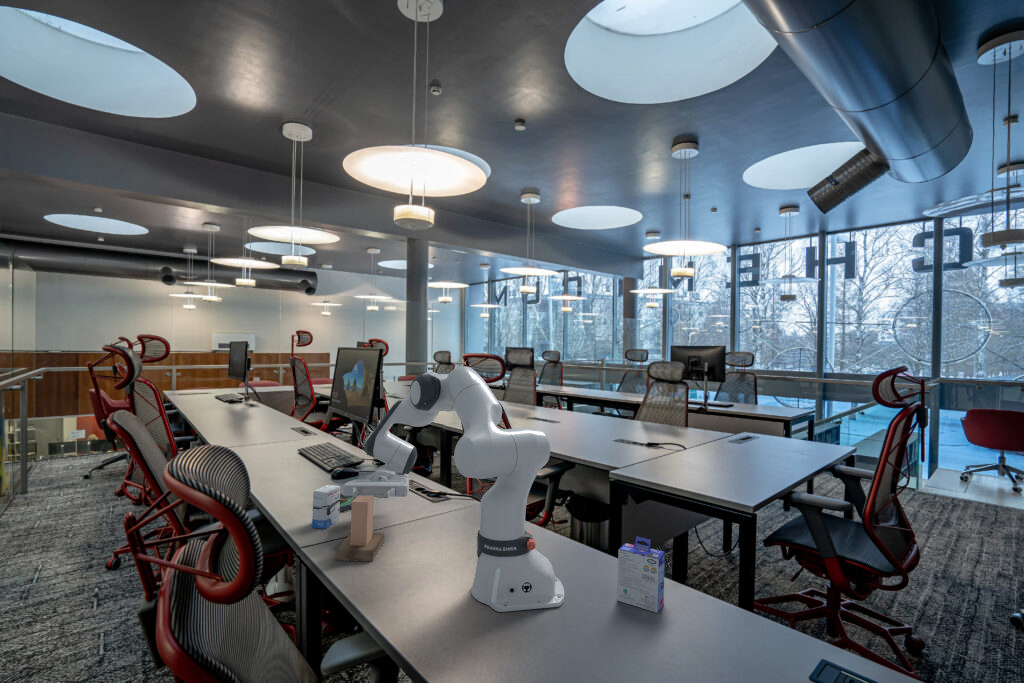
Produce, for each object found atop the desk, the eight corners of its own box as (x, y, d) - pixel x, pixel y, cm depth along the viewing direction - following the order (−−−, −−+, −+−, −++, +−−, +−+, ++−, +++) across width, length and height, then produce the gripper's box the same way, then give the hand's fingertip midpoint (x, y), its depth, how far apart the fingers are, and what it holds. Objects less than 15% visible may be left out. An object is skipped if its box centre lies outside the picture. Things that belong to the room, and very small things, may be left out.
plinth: (384, 543, 140) (384, 533, 140) (372, 561, 128) (373, 550, 128) (350, 543, 140) (350, 532, 140) (336, 560, 128) (336, 549, 128)
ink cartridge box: (665, 603, 110) (666, 541, 110) (658, 614, 105) (659, 549, 105) (624, 591, 115) (625, 531, 115) (616, 601, 110) (617, 539, 111)
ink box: (324, 529, 150) (326, 492, 150) (311, 528, 151) (312, 491, 151) (339, 520, 158) (341, 485, 159) (326, 519, 159) (327, 484, 160)
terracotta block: (372, 537, 137) (373, 495, 137) (366, 545, 131) (367, 502, 131) (357, 536, 137) (358, 495, 137) (350, 545, 131) (351, 501, 131)
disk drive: (318, 505, 175) (337, 514, 165) (318, 497, 175) (337, 506, 165) (344, 499, 182) (364, 508, 172) (344, 492, 182) (364, 500, 172)
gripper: (350, 473, 155) (335, 484, 141) (412, 474, 155) (404, 485, 141) (350, 492, 155) (335, 505, 141) (412, 493, 155) (403, 506, 141)
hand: (370, 495), depth 141 cm, fingers open, 8 cm apart
